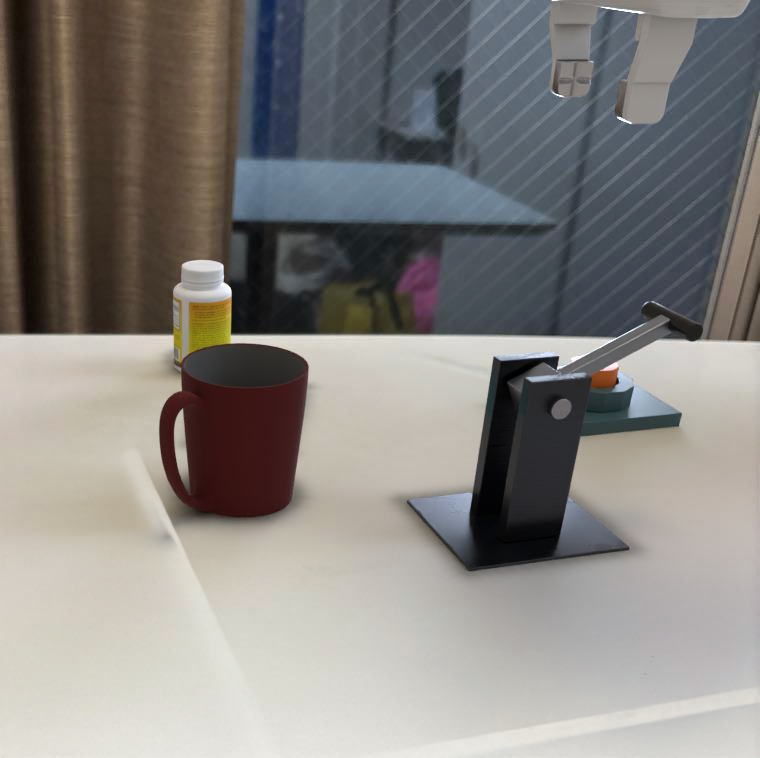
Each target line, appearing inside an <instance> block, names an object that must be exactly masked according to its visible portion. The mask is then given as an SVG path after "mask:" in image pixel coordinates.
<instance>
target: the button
mask: <svg viewBox="0 0 760 758" xmlns="http://www.w3.org/2000/svg"><path fill="white" fill-rule="evenodd" d="M585 355H586V354H581V355H575V356H573V357H571V359H570V363H571V362H573V361H575V360H577V359H579V358H581V357H583V356H585ZM619 369H620V364H619V363H618V361H617V362H615V363H613V364H612V365H610V366H608V367H606V368H604V369H602V370H600V371H598V372H597V373H595V374H593V375H591V377H592V383H591V387H594V388H608V387H614V386H615V383H616V379H617V374H618V371H620V370H619Z"/></svg>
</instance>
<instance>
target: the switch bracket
mask: <svg viewBox="0 0 760 758" xmlns="http://www.w3.org/2000/svg"><path fill="white" fill-rule="evenodd" d="M559 361H560V355H558V354H557V353H555V352H554V351H542V352H541V351H540V352H530V353H519V354H517V353H516V354H505V355H495V356H492V364H491V371H490V377H489V383H488V389H487V397H486V401H485V402H486V403H485V409H484V415H483V422H482V427H481V428H482V429H481V430H482V431H481V436H480V441H479V448H478V455H477V460H476V461H477V462H476V468H475V475H474V482H473V487H472V488H473V489H472V491H471V492H464V493H455V494H454V493H453V494H446V495H445V494H444V495H438V496H437V495H436V496H428V497H420V498H419V497H418V498H411V499H410V498H409V499H407V500H406V504H407V505H409V507H410V508H411V509H412V510H413V512H415V514H417V515H418V517H419V518H420V519H421V520H422V521H423V522H424V524H425V525H426V526H428V528H429V529H430V530H431V531H432V532H433V533H434V535H436V537H437V538H438V539H439V540H440V541H441V542H442V543H443V544H444V546H445V547H446V548H447V549H448V550H449V551H450V552H451V553H452V555H454V557H456V559H457V560H458V561H459V562H460V563H461V565H462V566H463V567H465V569H466V570H467V571H468V572H474V571H475V572H476V571H482V570H490V569H497V568H498V569H499V568H507V567H511V566H512V567H514V566H519V565H520V566H521V565H529V564H534V563H543V562H549V561H556V560H557V561H558V560H564V559H571V558H579V557H586V556H595V555H601V554H609V553H615V552H616V553H617V552H625V551H630V546H629V545H628V544H626V543H625V542H624V541H623V540H622V539H620V538H619V537H618V536H617V535H616V534H615V533H613V531H611V530H610V529H609V528H607V527H606V526H605V525H604V524H602V523H601V522H600V520H598V519H597V518H595V517H594V516H593V515H592V514H590V512H588V511H587V510H586V509H585V508H583V507H582V506H581V505H580V504H578V503H577V502H576V501H575V500H573V498H571V497H570V496H569V495H570V490H571V484H572V480H573V475H574V470H575V465H576V461H577V456H578V451H579V447H580V446H579V445H580V442H581V437H582V436H581V432H582V427H583V422H584V417H585V412H586V408H587V403H588V398H589V393H590V388H591V383H592V377H591V376H589V375H588V374H586V373H572V374H561V375H550V376H538V377H527V378H524V380H523V386H522V392H521V398H520V404H519V410H518V412H517V411H516V410H515V408H514V404H513V401H512V397H511V394H510V391H509V387H508V384H507V382H508V381H509V380H511V379H513V378H515V377H517V376H519V375H520V374H522V373H524V372H526V371H528V370H530V369H532V368H534V367H535V366H537V365H539V364H541V363H545V364H547V365H548V366H550V367H551V368H553V369H555V370H557V367H559Z"/></svg>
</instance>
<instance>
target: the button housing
mask: <svg viewBox="0 0 760 758" xmlns="http://www.w3.org/2000/svg"><path fill="white" fill-rule="evenodd" d="M566 365H567V364H563V365H560V366H558V367H557V370H558V369H560V368H562V367H564V366H566ZM682 415H683V412H681V411H679V410H677V409H676V408H675V407H673V406H672V405H670V404H668V403H666V402H665V401H663V400H661V399H660V398H658V397H656V396H655V395H653V394H651V393H650V392H648V391H647V390H644V388H641V387H640V386H638V385H637V384H635V383H634V379H633V378H632V377H630V376H628V375H627V374H625V373H624V372H622V371H620V370H618V374H617V379H616V383H615V386H614V387H608V388H594V387H591V388H590V393H589V398H588V403H587V408H586V412H585V417H584V422H583V427H582V432H581V437H587V436H598V435H606V434H607V435H608V434H616V433H617V434H618V433H627V432H637V431H646V430H656V429H666V428H674V427H680V423H681V419H682Z"/></svg>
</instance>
